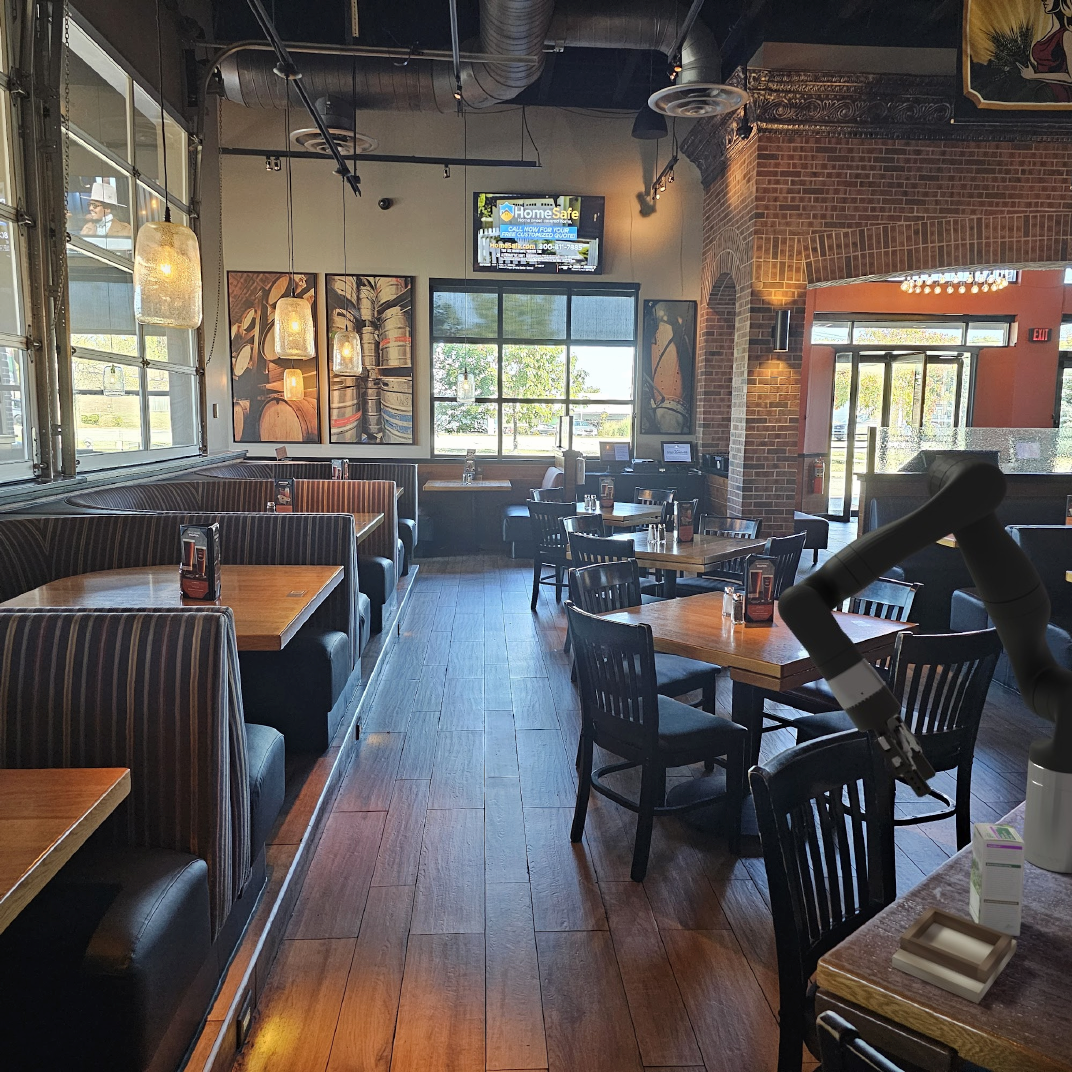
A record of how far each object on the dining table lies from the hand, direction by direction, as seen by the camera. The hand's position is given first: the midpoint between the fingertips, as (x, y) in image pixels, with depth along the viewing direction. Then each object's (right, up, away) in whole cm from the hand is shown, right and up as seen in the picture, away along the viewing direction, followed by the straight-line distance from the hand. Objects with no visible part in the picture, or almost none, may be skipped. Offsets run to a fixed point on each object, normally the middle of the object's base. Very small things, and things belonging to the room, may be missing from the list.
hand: (928, 786), depth 131 cm
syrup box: (+8, -20, -3) cm, 22 cm away
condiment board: (-2, -21, -12) cm, 24 cm away
